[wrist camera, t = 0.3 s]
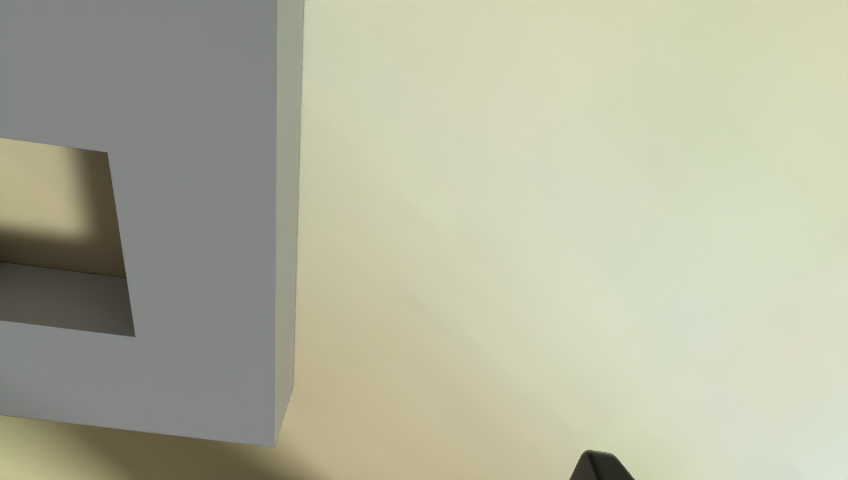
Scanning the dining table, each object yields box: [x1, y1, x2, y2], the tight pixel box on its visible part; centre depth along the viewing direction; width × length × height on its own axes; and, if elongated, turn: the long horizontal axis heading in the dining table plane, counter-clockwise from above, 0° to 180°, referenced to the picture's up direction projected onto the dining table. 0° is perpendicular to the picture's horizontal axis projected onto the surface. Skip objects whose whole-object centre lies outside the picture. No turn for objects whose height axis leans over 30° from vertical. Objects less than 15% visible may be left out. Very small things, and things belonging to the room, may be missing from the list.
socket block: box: [0, 0, 304, 447], centre depth 21 cm, size 18×18×4 cm
